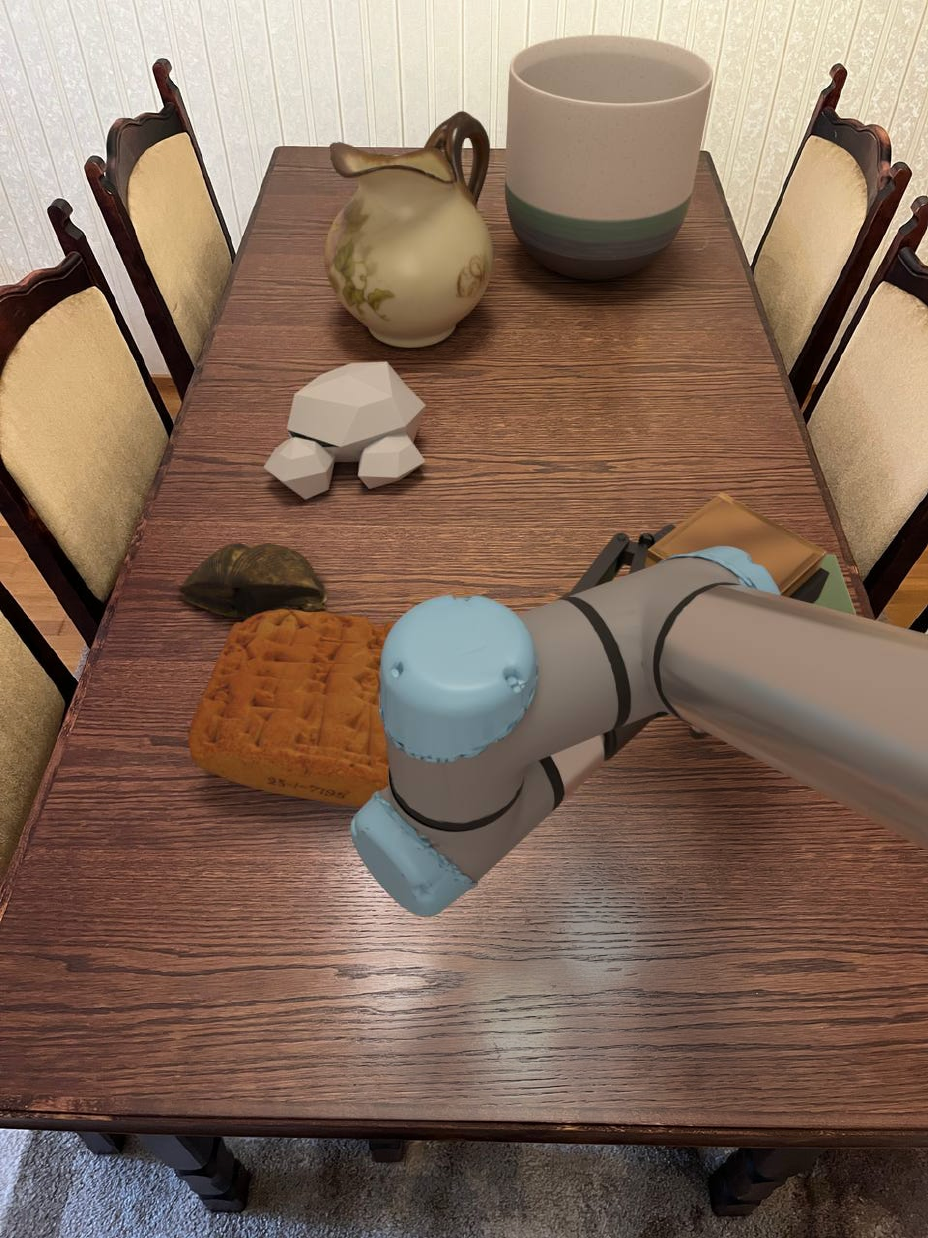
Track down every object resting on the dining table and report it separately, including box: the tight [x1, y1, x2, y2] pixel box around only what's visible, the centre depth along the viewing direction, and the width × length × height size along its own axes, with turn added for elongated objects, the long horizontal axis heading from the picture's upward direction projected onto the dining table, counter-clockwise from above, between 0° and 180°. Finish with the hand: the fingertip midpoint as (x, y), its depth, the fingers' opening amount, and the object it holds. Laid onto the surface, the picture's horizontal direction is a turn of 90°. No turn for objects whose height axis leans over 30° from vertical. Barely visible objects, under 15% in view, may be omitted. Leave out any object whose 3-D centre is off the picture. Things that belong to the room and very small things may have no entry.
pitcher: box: [323, 110, 495, 349], centre depth 118 cm, size 22×24×25 cm
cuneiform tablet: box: [187, 609, 397, 808], centre depth 78 cm, size 22×17×8 cm
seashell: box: [179, 542, 328, 620], centre depth 90 cm, size 16×9×7 cm, turn 75°
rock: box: [263, 361, 427, 500], centre depth 104 cm, size 18×20×10 cm
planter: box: [504, 34, 714, 281], centre depth 129 cm, size 27×27×27 cm
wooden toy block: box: [644, 491, 827, 597], centre depth 68 cm, size 9×9×9 cm
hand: (762, 549), depth 69 cm, fingers closed on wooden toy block, 9 cm apart
